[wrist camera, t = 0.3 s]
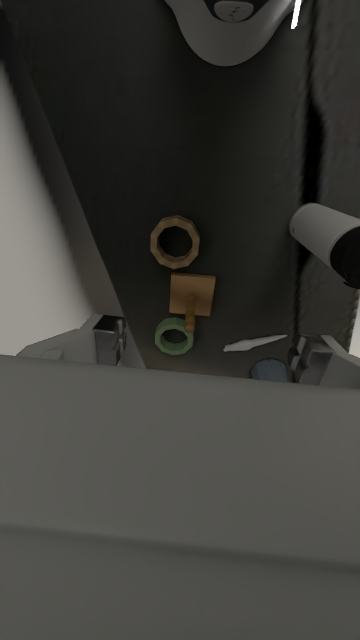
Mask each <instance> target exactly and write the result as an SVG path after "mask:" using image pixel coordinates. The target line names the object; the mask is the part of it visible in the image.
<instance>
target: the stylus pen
mask: <svg viewBox="0 0 360 640" xmlns="http://www.w3.org/2000/svg"><path fill="white" fill-rule="evenodd" d="M286 336H288V335H277V336H270V337H262V338H256V339H252V340H247V339H244V340H241V341H239V342H236V343H233V344H231V345H226V346H225V347H226V348H224V352H226V351H237V350H243V351H245V350H249V349H251V348H252V347H255V346H258V345H262V344H265V343H268V342H271V341H274V340H277V339H280V338H283V337H286Z"/></svg>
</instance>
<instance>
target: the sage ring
mask: <svg viewBox="0 0 360 640" xmlns="http://www.w3.org/2000/svg"><path fill="white" fill-rule="evenodd" d="M184 324H185V320H183V319H180V318H178V317H173V318H167V319H164V320H163V321H162V322H161V323H160V324H159V325H158V326H157V329H156V333H155V344H156V345H157V346H158V347H159V349H160V350H161V351H162V352H165V353H168V354H171V355H179V354H184V353H186V352H187V351H188V350H189V349H190V348H192V345H193V336H194V331H193V332H192V333H186V332H185V330H184ZM170 329H177V330H180V331H183V332H184V333H185V335H186V336H187V337H188V338H187V339H186V340H185V341H184V342H182V343H176V344H174V343H171V342H168V341H166V340H165V339H164V337H163V336H162V333H163V332H164V331H165V330H170Z"/></svg>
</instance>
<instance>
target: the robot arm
mask: <svg viewBox="0 0 360 640" xmlns="http://www.w3.org/2000/svg"><path fill="white" fill-rule="evenodd" d="M304 1H305V0H165V2H166V3H167V4H168V5H169V6H170V7H171V8H172V10H173V12H174V14H175V16H176V19H177V22H178V24H179V27H180V29H181V32H182V34H183V36H184V38H185V40H186V41H187V43H188V44H189V46H190V47H191V48H192V50H193V51H194V52H195V53H196V54H197V55H198V56H199V57H201V58H202V59H203V60H205V61H207V62H209V63H211V64H214V65H218V66H233V65H237V64H240V63H242V62H244V61H246V60H248V59H250V58H251V57H253V56H254V55H255V54H257V53H258V52H259V51H260V50H261V49H262V48H263V47H264V46H265V45H266V43H267V42H268V41H269V40H270V38H271V37H272V36H273V34H274V33H275V31H276V29H277V28H278V26H279V25H280V23H281V22H282V21H283V19H284V18H285V17H286V16H287V15H288V14H289V13H291V12H292V11H293V10H294V16H293V22H292V27H291V29H294V28H295V26H296V25H297V19H298V14H299V8H300V5H301V4H302V3H303V2H304ZM125 327H126V320H125V317H118V316H109V315H100V314H93V315H92V316H91V317H90V318H89V319H88V320H87V321H86V322H85V323H84V324H83V326H82V327H81V328H80V329H74V330H71V331H69V332H66V333H63V334H60V335H57V336H54V337H52V338H49V339H46V340H43V341H40V342H37V343H34V344H32V345H28V346H26V347H25V348H24V349H23V350H22V351H21V352H19V353H18V354H17V355H16V356H9V355H0V640H360V358H358V357H356V356H354V355H351V354H348V353H347V352H346V351H345V350H344V349H343V348H342V347H341V346H340V345H339V344H338V343H337V342H336V341H335V340H334V339H333V338H332V337H331V336H329V335H317V334H303V333H296V334H295V335H294V337H293V340H292V342H293V344H294V346H293V347H291V348H290V349H289V352H288V365H289V367H290V368H291V369H292V370H294V371H295V372H294V376H295V378H296V380H297V382H298V383H288V382H278V381H268V380H257V379H247V378H237V377H226V376H216V375H206V374H196V373H185V372H175V371H165V370H155V369H144V368H134V367H124V366H117V364H118V362H119V360H120V354H121V353H123V351H124V349H125V345H126V333H125V332H124V328H125Z"/></svg>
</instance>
